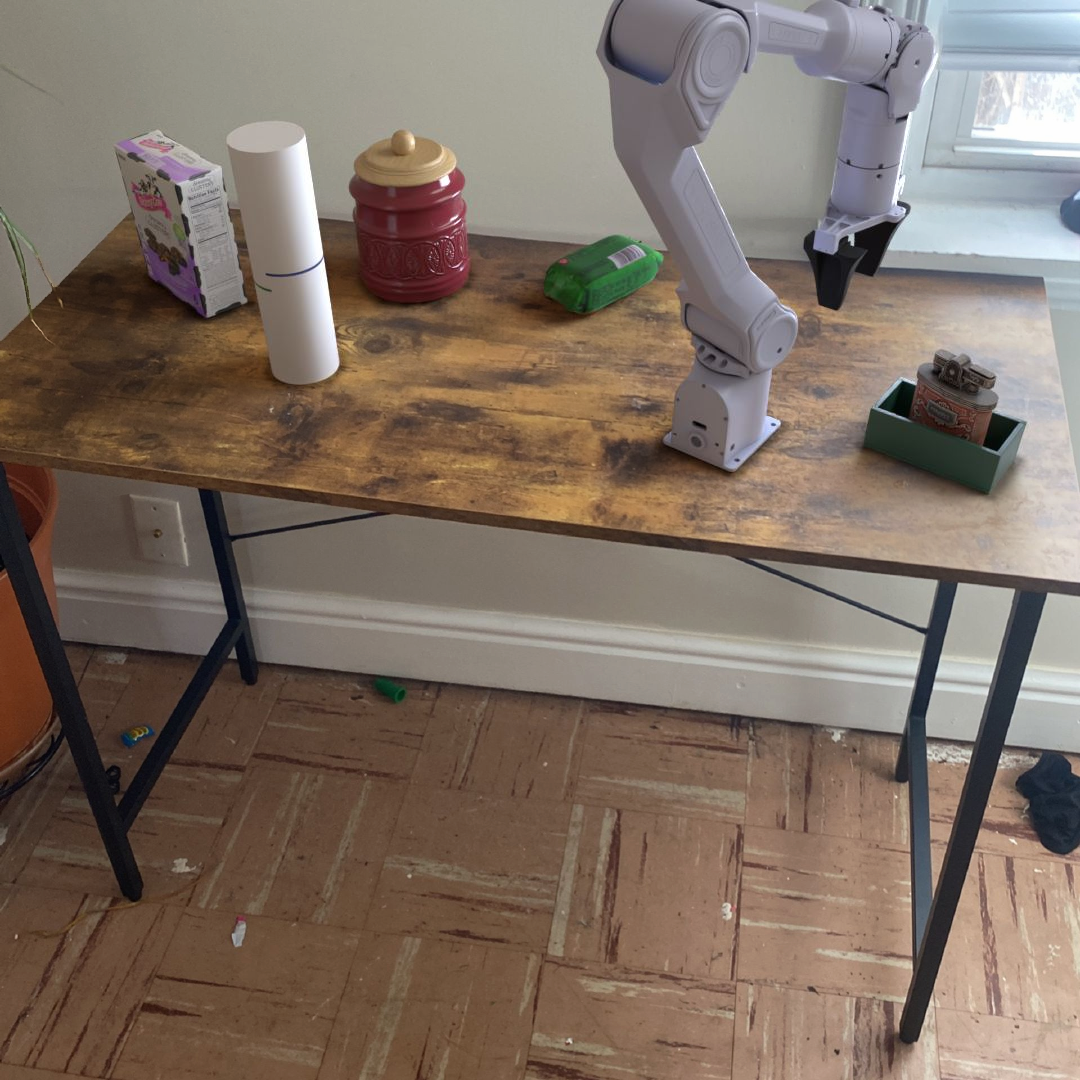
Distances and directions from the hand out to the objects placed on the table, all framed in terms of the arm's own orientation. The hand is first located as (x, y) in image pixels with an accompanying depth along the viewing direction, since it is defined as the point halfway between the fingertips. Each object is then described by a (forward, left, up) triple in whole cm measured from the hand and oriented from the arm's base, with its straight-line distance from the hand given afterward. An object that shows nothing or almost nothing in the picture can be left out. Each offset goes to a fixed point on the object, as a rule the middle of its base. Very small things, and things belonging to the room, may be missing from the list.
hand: (847, 289), depth 115 cm
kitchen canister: (-9, +49, -11) cm, 51 cm away
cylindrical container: (-30, +46, -11) cm, 56 cm away
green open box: (-5, -14, -10) cm, 18 cm away
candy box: (-26, +68, -11) cm, 74 cm away
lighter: (-5, -14, -10) cm, 18 cm away
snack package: (+1, +29, -11) cm, 31 cm away
